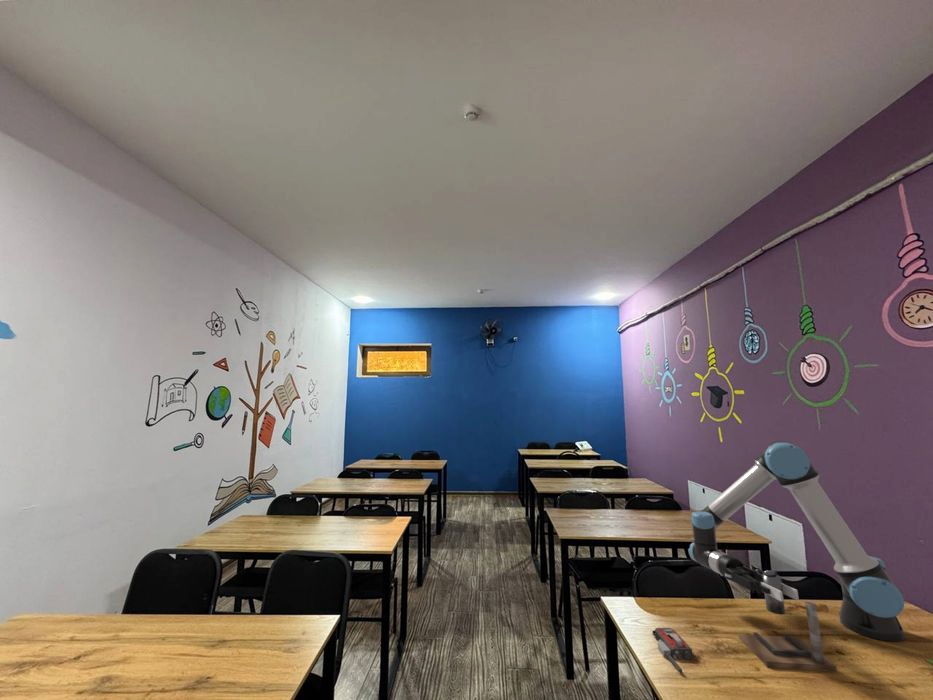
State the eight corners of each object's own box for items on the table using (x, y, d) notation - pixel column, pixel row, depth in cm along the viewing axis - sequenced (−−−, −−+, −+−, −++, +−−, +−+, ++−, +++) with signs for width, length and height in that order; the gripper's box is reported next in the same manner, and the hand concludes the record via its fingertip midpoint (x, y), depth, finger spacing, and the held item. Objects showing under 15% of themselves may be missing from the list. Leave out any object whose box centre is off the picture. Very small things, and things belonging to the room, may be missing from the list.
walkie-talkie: (646, 636, 127) (677, 676, 107) (645, 621, 128) (676, 659, 108) (673, 636, 127) (709, 677, 107) (671, 621, 127) (708, 659, 108)
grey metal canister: (775, 606, 122) (770, 567, 124) (789, 613, 117) (783, 573, 119) (762, 607, 121) (757, 568, 123) (776, 615, 117) (770, 574, 119)
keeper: (803, 642, 122) (796, 586, 124) (840, 672, 108) (831, 607, 111) (739, 639, 124) (733, 583, 127) (767, 667, 110) (759, 604, 113)
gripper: (750, 575, 139) (816, 607, 116) (705, 579, 136) (765, 611, 113) (747, 553, 140) (812, 580, 117) (703, 556, 137) (761, 584, 115)
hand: (789, 595), depth 115 cm, fingers closed on grey metal canister, 5 cm apart
